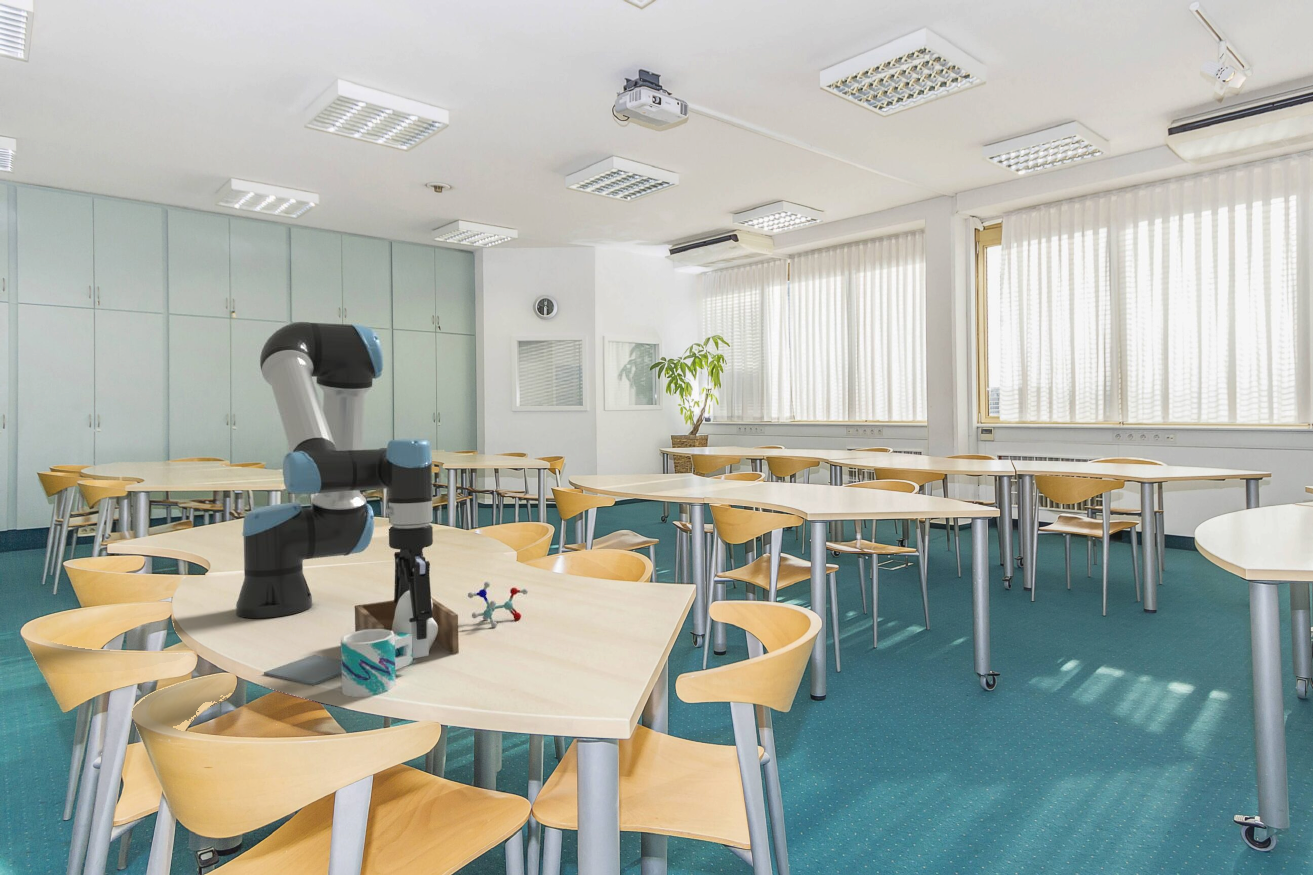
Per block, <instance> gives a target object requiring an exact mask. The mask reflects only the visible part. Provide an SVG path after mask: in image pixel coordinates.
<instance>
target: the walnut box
mask: <svg viewBox="0 0 1313 875" xmlns="http://www.w3.org/2000/svg"><path fill="white" fill-rule="evenodd" d="M431 599H432V603H433V607H432V614H433V615H432V618H433V619H434V621H435V622H436V623H437V625H438V633H437V636H436V638H435V640H434V641H436V642H437V643H439V644H440V645H441V646H442V647H444V648H445V649H446V650H448V651H449V652H450V653H451V654H452V655H453V654H459V649H460V648H459V644H460V643H459V614H458V613H456V612H454V611H453V610H451V609H450V608H449V607H447V606H445V605H444V604H442V603H441V602H439V601H438V600H436V599H434V598H433V597H432V596H431ZM396 607H397V603H395V602H394V599H391V600H384V601H379V602H377V601H376V602H372V603H371V602H370V603H364V604H359V605H354V621H355V622H354V632H356V631H361V630H366V629H385V630H390V631H392V625H393V621H394V616H395V610H396Z"/></svg>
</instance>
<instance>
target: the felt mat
mask: <svg viewBox="0 0 1313 875" xmlns="http://www.w3.org/2000/svg"><path fill="white" fill-rule="evenodd" d="M263 675H265V676H269V677H274V678H279V679H283V680H287V681H291V682H297V683H300V684H301V683H302V684H304V685H309V686H310V685H311V686H316V685H318V684H321V683H323V682H326V681H328V680H331V679H333V678H337V677H339V676H342V671H341V658H340V659H339V658H333V657H329V656H325V655H319V654H312V655H310V656H309V655H308V656H307V657H304V658H301V659H298V660H295V661H292V662H289V663H287V664H283V665H280V666H278V667H275V668H274V667H273V668H272V669H270V670H269V669H268V670H265V671H263Z"/></svg>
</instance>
